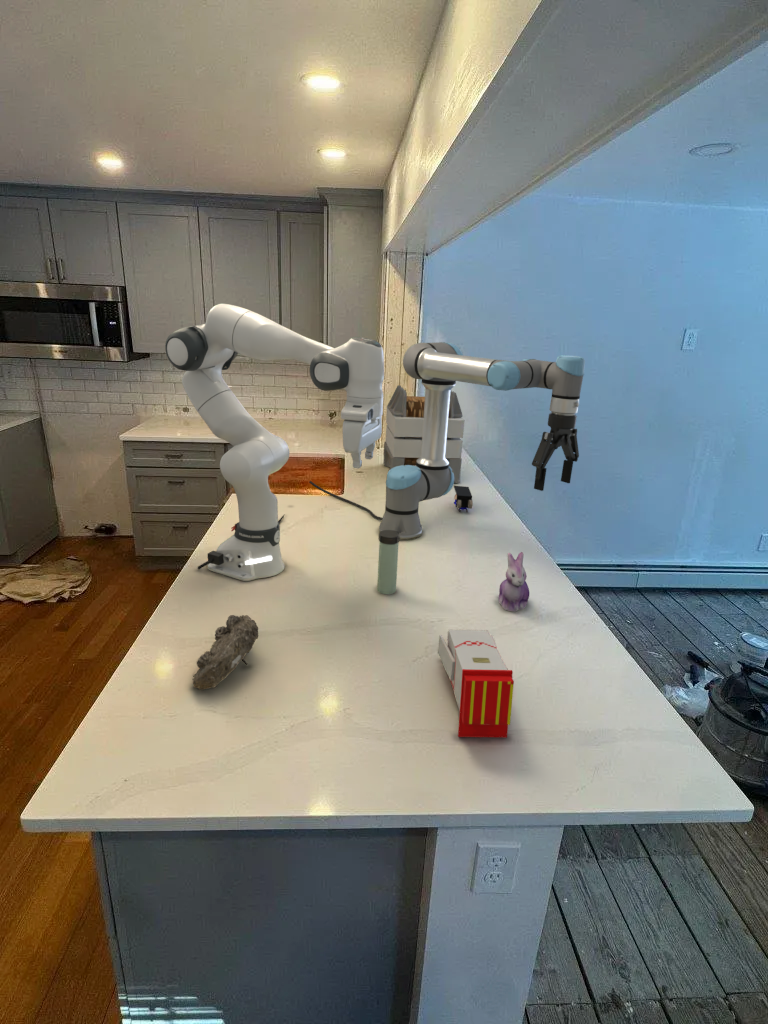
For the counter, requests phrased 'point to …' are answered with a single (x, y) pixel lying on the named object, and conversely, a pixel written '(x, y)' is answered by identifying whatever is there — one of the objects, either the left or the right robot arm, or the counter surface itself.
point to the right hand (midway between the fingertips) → (552, 485)
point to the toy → (478, 682)
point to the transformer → (419, 431)
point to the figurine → (514, 585)
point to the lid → (389, 537)
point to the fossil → (226, 651)
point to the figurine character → (463, 498)
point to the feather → (281, 519)
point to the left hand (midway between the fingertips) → (363, 463)
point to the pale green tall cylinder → (387, 568)
